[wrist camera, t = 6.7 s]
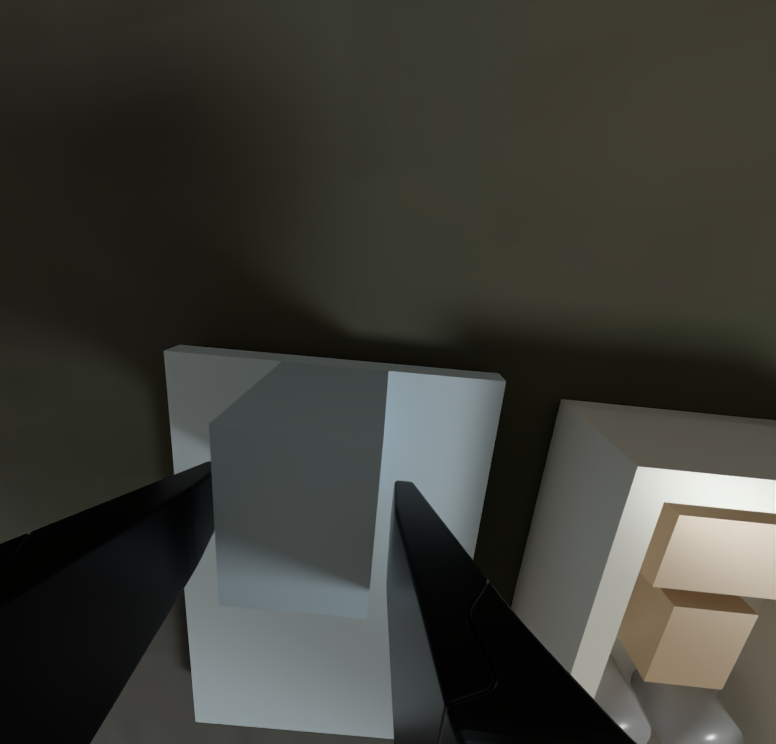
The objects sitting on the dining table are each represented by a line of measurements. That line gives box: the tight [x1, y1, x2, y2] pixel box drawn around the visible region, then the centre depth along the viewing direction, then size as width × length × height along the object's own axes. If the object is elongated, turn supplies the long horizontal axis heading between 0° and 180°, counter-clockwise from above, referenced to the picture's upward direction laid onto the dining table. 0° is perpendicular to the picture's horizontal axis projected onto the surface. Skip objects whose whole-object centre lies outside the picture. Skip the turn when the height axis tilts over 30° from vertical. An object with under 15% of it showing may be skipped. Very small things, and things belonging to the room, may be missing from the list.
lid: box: [164, 345, 506, 739], centre depth 11 cm, size 15×10×6 cm, turn 175°
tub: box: [511, 399, 776, 744], centre depth 12 cm, size 14×9×4 cm, turn 175°
